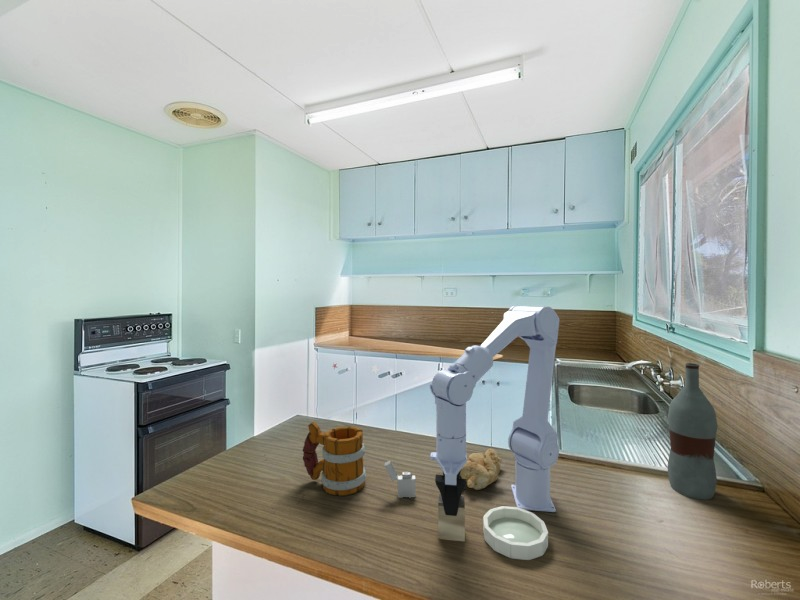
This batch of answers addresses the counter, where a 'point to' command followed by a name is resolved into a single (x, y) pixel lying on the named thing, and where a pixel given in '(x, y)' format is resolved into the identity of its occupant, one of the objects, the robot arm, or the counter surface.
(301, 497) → the counter surface
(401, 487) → the lighter
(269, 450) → the counter surface
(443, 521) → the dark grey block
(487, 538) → the dish
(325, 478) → the mug
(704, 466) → the bottle
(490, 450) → the ginger root
